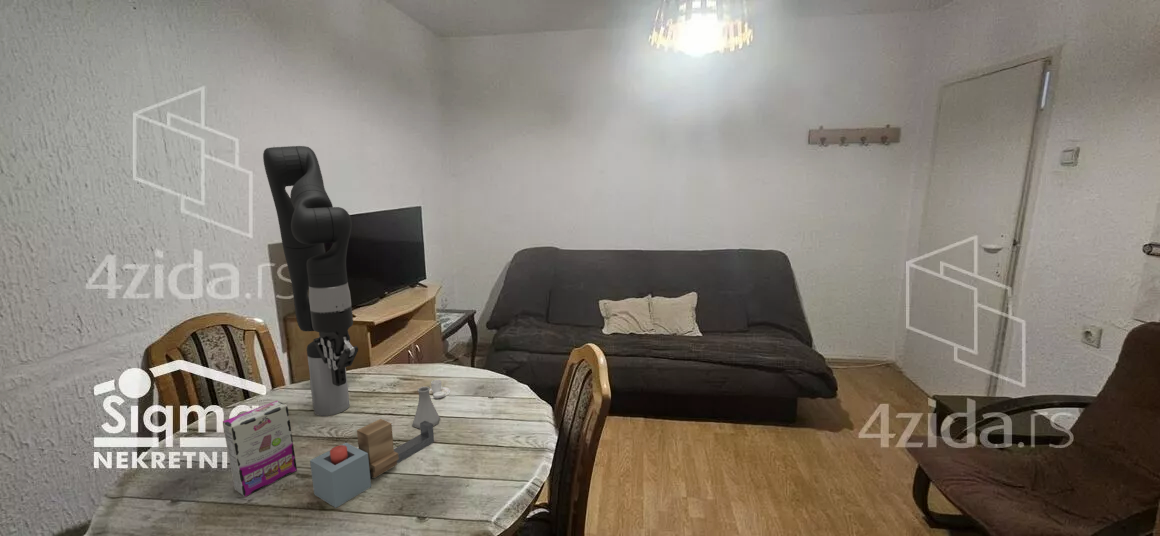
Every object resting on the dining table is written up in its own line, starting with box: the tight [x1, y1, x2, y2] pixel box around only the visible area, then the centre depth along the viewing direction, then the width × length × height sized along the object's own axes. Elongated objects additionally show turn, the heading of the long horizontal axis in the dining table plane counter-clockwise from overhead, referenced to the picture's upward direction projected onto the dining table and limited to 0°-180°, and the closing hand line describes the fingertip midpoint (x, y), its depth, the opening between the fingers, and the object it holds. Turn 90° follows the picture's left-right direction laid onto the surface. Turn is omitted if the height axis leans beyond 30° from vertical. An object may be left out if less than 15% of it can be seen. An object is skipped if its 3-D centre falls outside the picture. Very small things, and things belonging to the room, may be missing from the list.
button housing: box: [309, 442, 372, 509], centre depth 102 cm, size 8×8×8 cm
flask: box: [411, 386, 441, 430], centre depth 130 cm, size 7×7×10 cm
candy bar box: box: [222, 400, 298, 498], centre depth 105 cm, size 11×5×16 cm, turn 148°
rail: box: [370, 421, 435, 480], centre depth 114 cm, size 3×20×5 cm, turn 148°
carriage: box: [356, 418, 399, 479], centre depth 109 cm, size 7×6×10 cm
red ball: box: [329, 444, 348, 465], centre depth 101 cm, size 3×3×3 cm
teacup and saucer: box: [429, 379, 451, 399], centre depth 148 cm, size 9×8×4 cm
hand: (339, 384), depth 101 cm, fingers closed
